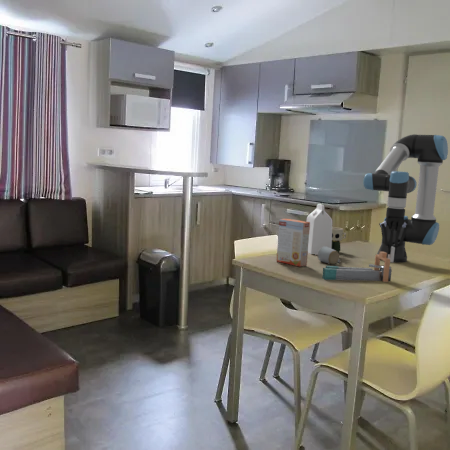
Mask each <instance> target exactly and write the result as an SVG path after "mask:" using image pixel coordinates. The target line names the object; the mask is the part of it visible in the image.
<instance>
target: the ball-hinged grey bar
mask: <svg viewBox="0 0 450 450" xmlns="http://www.w3.org/2000/svg"><path fill="white" fill-rule="evenodd" d="M392 270H393V269H392V268H391V270H389V276H388V282H391V280H392V272H393V271H392ZM383 273H384V269H381V268H379V270H374V269H373V270H362V269H335V268H326V267H322V279H323V280H327V281H328V280H329V281H330V280H331V281H365V282H366V281H368V282H371V281H372V282H374V281H375V282H376V281H377V282H383ZM388 282H387V283H388Z"/></svg>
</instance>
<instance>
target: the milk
mask: <svg viewBox="0 0 450 450" xmlns="http://www.w3.org/2000/svg"><path fill="white" fill-rule="evenodd" d="M305 222H310V231H309V243H308V254H309V253H310V254H309V255H311V254H315V255H317V256H318V252H319V250H320V249H321V248H322V247H328V248H332V227H333V219H332V217H331V216H330V215H329V214H328V213H327V212H326V210H325V205H324V204H321V203H317V205H316V208H315V209H314V210H313V211H311V213H309V214H308V215H307V217H306V221H305Z"/></svg>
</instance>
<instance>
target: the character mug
mask: <svg viewBox="0 0 450 450" xmlns="http://www.w3.org/2000/svg"><path fill="white" fill-rule="evenodd" d="M343 235H344V236H343ZM346 238H347V233H346V232H344V228H341V227H333V226H332V248H331V249H333V250H336V251H337V252H338V253H339V252H341V241H342V240H343V239H346Z"/></svg>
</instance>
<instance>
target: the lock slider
mask: <svg viewBox="0 0 450 450" xmlns="http://www.w3.org/2000/svg"><path fill="white" fill-rule="evenodd" d="M374 256H375V258H374V265H380V266H381V261H382V260H383V262H384V265H383V266H384V273H383V281H382V283H388V276H389V267H391V266H390V265H391V262H390V259H388V258H386V257H387V253H386V252H379V254H377V253H376V254H375V255H374ZM380 259H381V260H380ZM373 270H380V268H375V267H373Z"/></svg>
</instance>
